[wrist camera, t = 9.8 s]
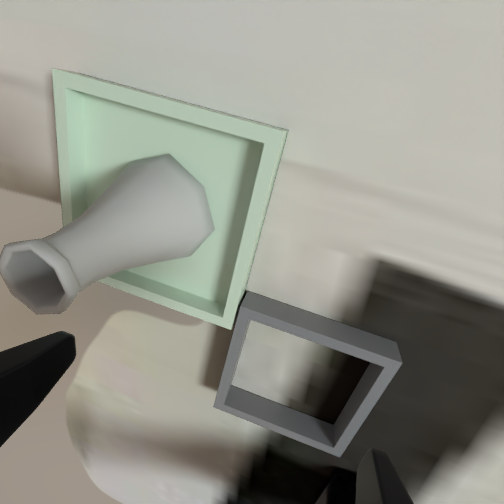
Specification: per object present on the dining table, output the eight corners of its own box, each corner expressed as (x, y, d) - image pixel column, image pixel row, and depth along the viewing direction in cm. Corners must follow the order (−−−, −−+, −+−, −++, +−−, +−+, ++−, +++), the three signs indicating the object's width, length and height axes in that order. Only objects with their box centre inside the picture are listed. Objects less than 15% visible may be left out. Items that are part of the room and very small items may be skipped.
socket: (339, 434, 25) (339, 457, 24) (221, 387, 27) (213, 406, 25) (396, 341, 21) (402, 362, 19) (247, 290, 22) (240, 306, 20)
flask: (98, 186, 21) (-79, 236, 12) (174, 131, 18) (18, 144, 9) (156, 271, 22) (41, 371, 14) (234, 234, 20) (153, 329, 11)
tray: (238, 313, 23) (231, 330, 21) (85, 259, 24) (66, 270, 23) (288, 129, 17) (283, 131, 15) (78, 72, 18) (51, 68, 17)
